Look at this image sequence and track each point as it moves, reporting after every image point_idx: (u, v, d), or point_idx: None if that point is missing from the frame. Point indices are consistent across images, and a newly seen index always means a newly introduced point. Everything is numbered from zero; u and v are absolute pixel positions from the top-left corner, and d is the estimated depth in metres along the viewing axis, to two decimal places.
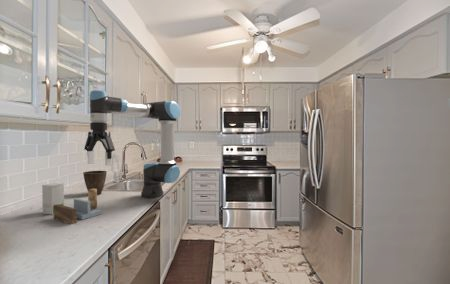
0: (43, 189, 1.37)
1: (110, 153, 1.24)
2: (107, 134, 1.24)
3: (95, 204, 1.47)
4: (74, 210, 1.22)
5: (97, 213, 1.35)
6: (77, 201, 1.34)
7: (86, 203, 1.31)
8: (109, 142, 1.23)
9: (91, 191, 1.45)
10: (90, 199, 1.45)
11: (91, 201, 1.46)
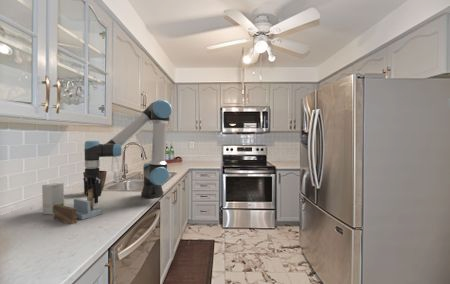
0: (43, 189, 1.37)
1: (97, 198, 1.46)
2: (98, 182, 1.44)
3: None
4: (74, 210, 1.22)
5: (97, 213, 1.35)
6: (77, 201, 1.34)
7: (86, 203, 1.31)
8: (98, 189, 1.44)
9: (91, 191, 1.45)
10: (90, 199, 1.45)
11: (91, 201, 1.46)
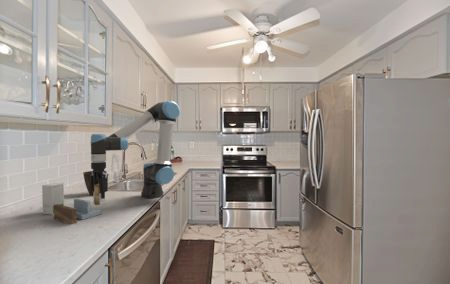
0: (43, 189, 1.37)
1: (103, 193, 1.40)
2: (105, 176, 1.39)
3: None
4: (74, 210, 1.22)
5: (97, 213, 1.35)
6: (77, 201, 1.34)
7: (86, 203, 1.31)
8: (104, 184, 1.39)
9: (97, 186, 1.40)
10: (96, 194, 1.40)
11: (97, 196, 1.40)
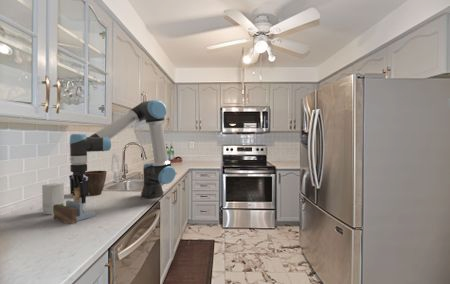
0: (43, 189, 1.37)
1: (84, 198, 1.31)
2: (86, 180, 1.29)
3: None
4: (74, 210, 1.22)
5: (90, 215, 1.32)
6: (69, 203, 1.31)
7: (78, 205, 1.27)
8: (85, 188, 1.29)
9: (78, 190, 1.30)
10: (77, 199, 1.31)
11: (78, 201, 1.31)
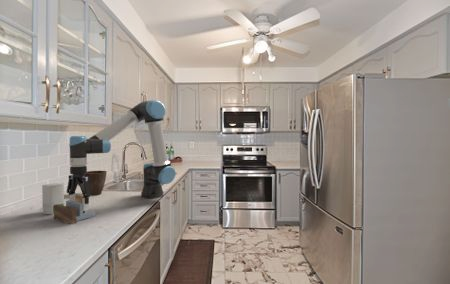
0: (43, 189, 1.37)
1: (87, 198, 1.29)
2: (86, 179, 1.29)
3: (83, 212, 1.33)
4: (74, 210, 1.22)
5: (90, 215, 1.32)
6: (69, 203, 1.31)
7: (78, 205, 1.27)
8: (87, 188, 1.28)
9: (78, 197, 1.31)
10: None
11: None
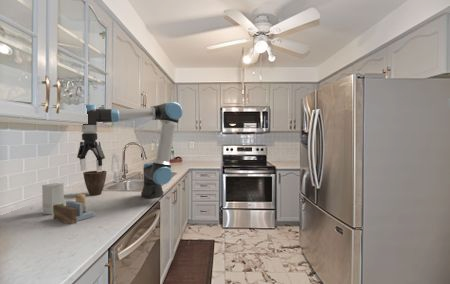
0: (43, 189, 1.37)
1: (101, 161, 1.39)
2: (97, 144, 1.38)
3: (83, 212, 1.33)
4: (74, 210, 1.22)
5: (90, 215, 1.32)
6: (69, 203, 1.31)
7: (78, 205, 1.27)
8: (99, 151, 1.38)
9: (79, 197, 1.31)
10: None
11: None
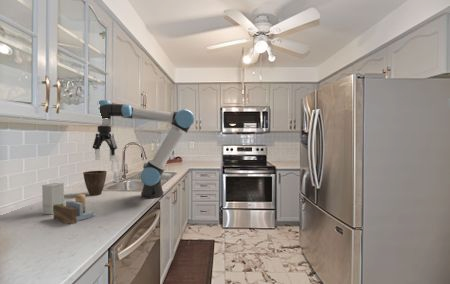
0: (43, 189, 1.37)
1: (113, 151, 1.54)
2: (111, 135, 1.54)
3: (83, 212, 1.33)
4: (74, 210, 1.22)
5: (90, 215, 1.32)
6: (69, 203, 1.31)
7: (78, 205, 1.27)
8: (113, 142, 1.54)
9: (79, 197, 1.31)
10: None
11: None
